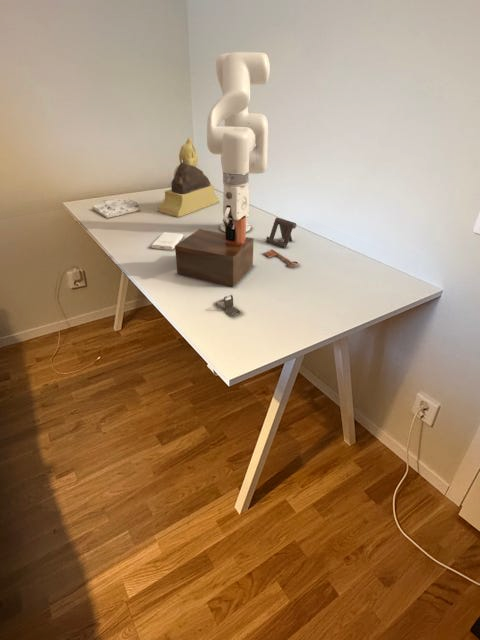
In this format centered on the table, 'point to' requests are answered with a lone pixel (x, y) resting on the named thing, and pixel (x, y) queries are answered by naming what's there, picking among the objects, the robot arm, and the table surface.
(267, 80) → the robot arm
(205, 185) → the gold-headed buddha statuette
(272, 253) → the key
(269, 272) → the table surface
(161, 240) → the hard drive
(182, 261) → the dark wooden box
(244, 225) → the cup
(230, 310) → the strap clip
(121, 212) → the floor plan model
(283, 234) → the tablet stand
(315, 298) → the table surface
